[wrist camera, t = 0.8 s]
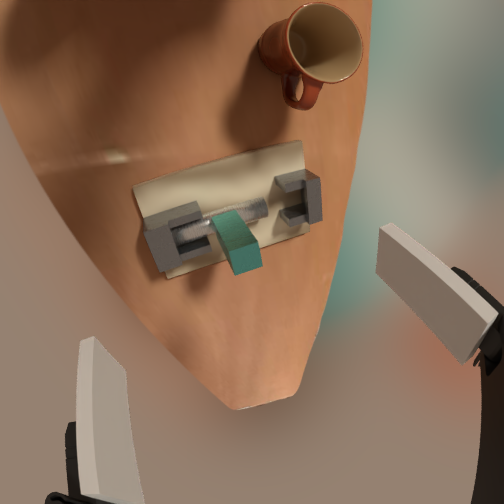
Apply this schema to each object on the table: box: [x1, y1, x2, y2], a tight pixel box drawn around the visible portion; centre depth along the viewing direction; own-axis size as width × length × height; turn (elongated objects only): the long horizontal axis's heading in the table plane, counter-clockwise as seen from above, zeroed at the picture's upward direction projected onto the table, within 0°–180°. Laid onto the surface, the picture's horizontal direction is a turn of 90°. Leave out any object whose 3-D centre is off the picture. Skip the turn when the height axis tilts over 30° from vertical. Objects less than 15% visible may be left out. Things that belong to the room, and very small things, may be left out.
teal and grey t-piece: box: [170, 196, 269, 276], centre depth 33 cm, size 3×15×11 cm, turn 100°
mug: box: [258, 2, 363, 110], centre depth 26 cm, size 12×9×10 cm
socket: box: [275, 169, 322, 227], centre depth 38 cm, size 6×4×4 cm
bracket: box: [143, 200, 212, 272], centre depth 35 cm, size 6×7×4 cm
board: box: [133, 140, 310, 279], centre depth 38 cm, size 14×22×1 cm, turn 100°
